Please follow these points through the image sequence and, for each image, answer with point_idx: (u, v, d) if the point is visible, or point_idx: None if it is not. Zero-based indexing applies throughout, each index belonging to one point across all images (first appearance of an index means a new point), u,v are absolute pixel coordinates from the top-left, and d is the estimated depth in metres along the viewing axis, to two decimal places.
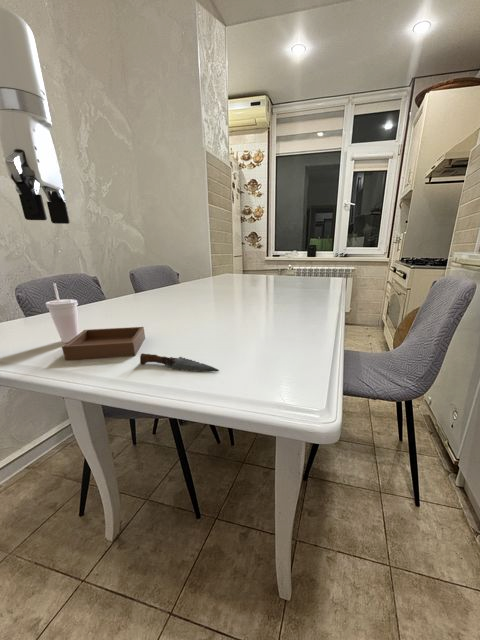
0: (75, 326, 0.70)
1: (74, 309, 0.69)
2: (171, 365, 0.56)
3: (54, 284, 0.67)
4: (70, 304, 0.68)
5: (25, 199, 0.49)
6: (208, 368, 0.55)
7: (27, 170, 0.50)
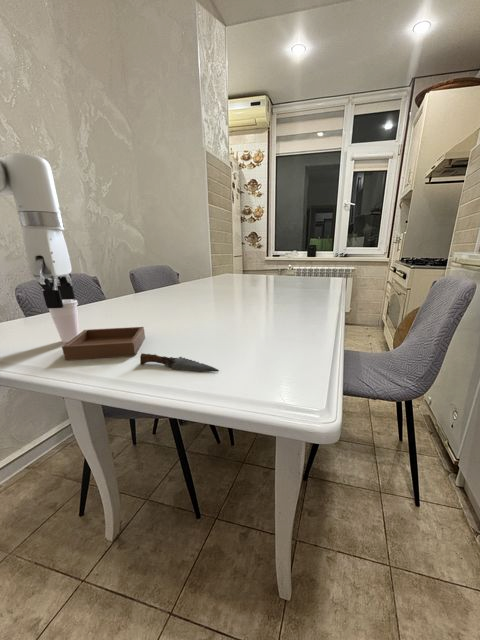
0: (75, 326, 0.70)
1: (74, 309, 0.69)
2: (171, 365, 0.56)
3: None
4: (70, 304, 0.68)
5: (47, 295, 0.64)
6: (208, 368, 0.55)
7: (45, 268, 0.63)
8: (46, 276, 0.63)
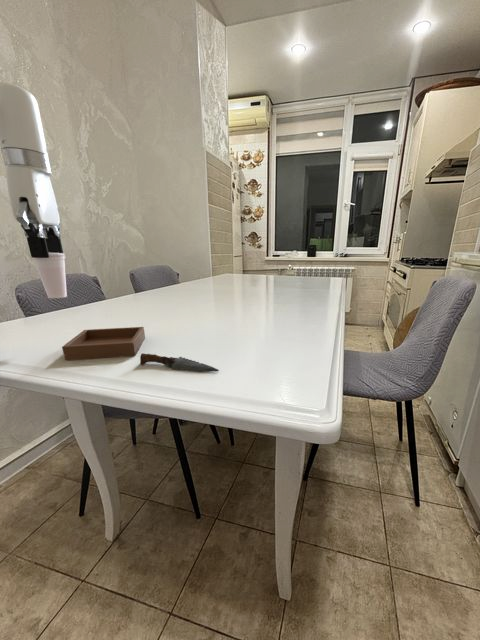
0: (62, 281, 0.66)
1: (61, 262, 0.65)
2: (171, 365, 0.56)
3: None
4: (57, 256, 0.64)
5: (32, 242, 0.60)
6: (208, 368, 0.55)
7: (30, 212, 0.59)
8: (31, 221, 0.59)
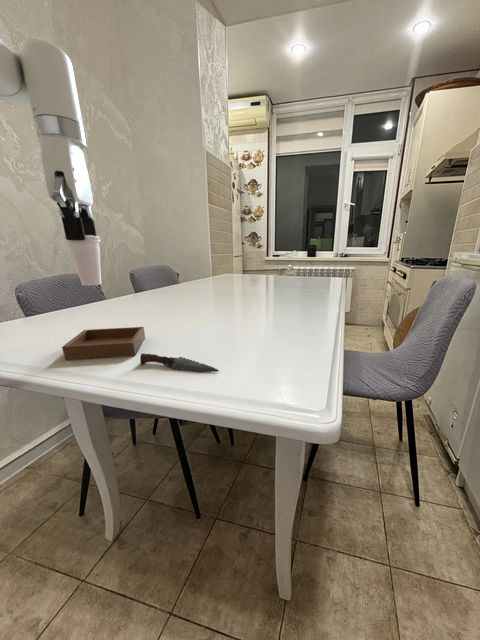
0: (98, 267, 0.61)
1: (96, 245, 0.59)
2: (171, 365, 0.56)
3: None
4: (93, 238, 0.58)
5: (67, 222, 0.54)
6: (208, 368, 0.55)
7: (65, 189, 0.53)
8: (66, 199, 0.53)
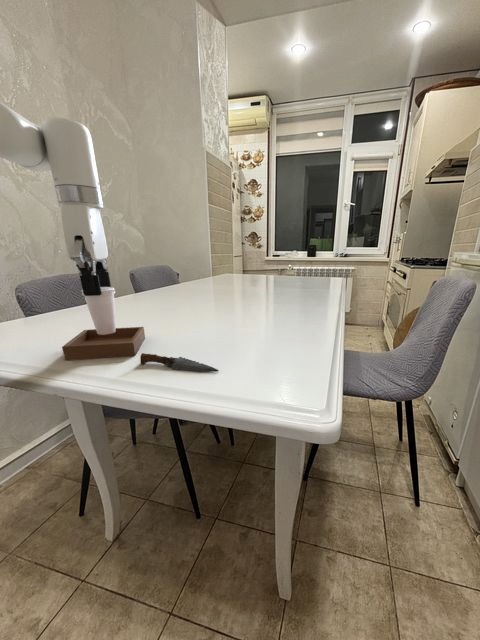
0: (112, 316, 0.64)
1: (111, 297, 0.62)
2: (171, 365, 0.56)
3: None
4: (108, 291, 0.61)
5: (85, 280, 0.57)
6: (208, 368, 0.54)
7: (83, 250, 0.56)
8: (84, 259, 0.56)
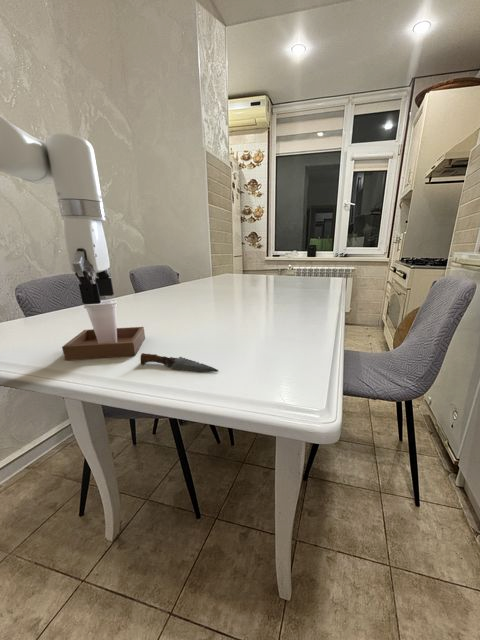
0: (114, 329, 0.65)
1: (113, 310, 0.63)
2: (171, 365, 0.56)
3: None
4: (110, 305, 0.62)
5: (84, 289, 0.56)
6: (208, 368, 0.54)
7: (85, 262, 0.57)
8: (87, 271, 0.57)
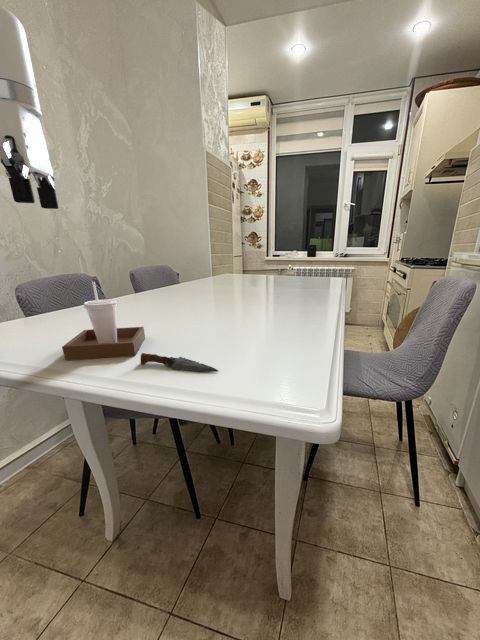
0: (114, 329, 0.65)
1: (113, 310, 0.63)
2: (171, 365, 0.56)
3: (93, 283, 0.61)
4: (110, 305, 0.62)
5: (14, 183, 0.52)
6: (208, 368, 0.54)
7: (17, 156, 0.53)
8: (18, 166, 0.53)
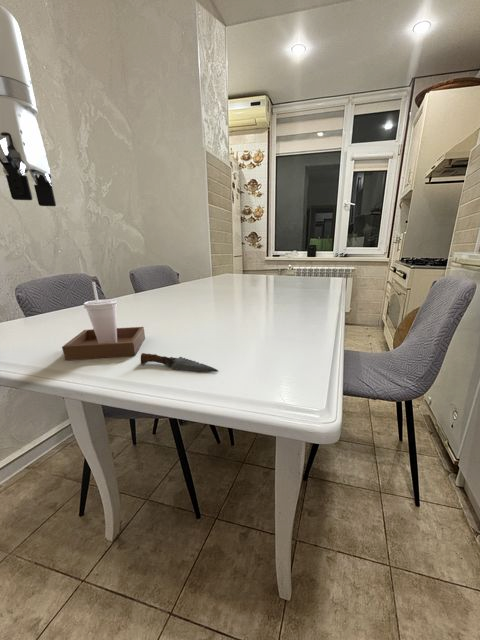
0: (114, 329, 0.65)
1: (113, 310, 0.63)
2: (171, 365, 0.56)
3: (93, 283, 0.61)
4: (110, 305, 0.62)
5: (12, 180, 0.52)
6: (208, 368, 0.54)
7: (14, 153, 0.53)
8: (15, 163, 0.53)
